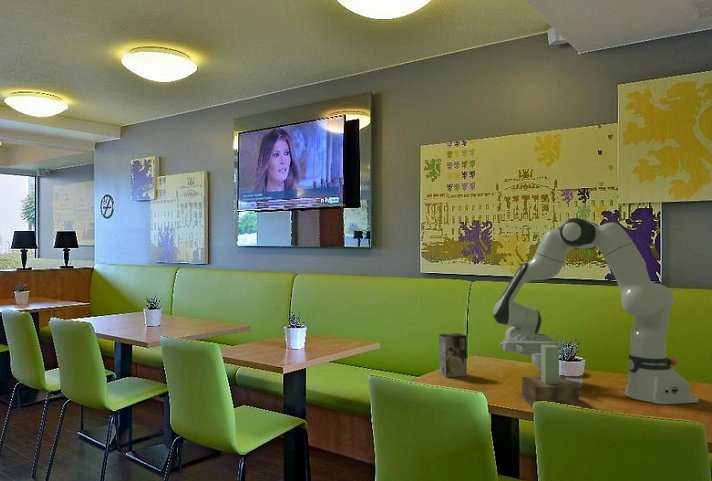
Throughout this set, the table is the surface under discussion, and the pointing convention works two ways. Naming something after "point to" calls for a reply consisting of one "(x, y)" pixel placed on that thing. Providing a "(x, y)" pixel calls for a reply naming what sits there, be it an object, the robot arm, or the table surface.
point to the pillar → (550, 364)
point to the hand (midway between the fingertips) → (536, 350)
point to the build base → (549, 391)
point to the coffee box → (452, 355)
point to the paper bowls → (537, 360)
